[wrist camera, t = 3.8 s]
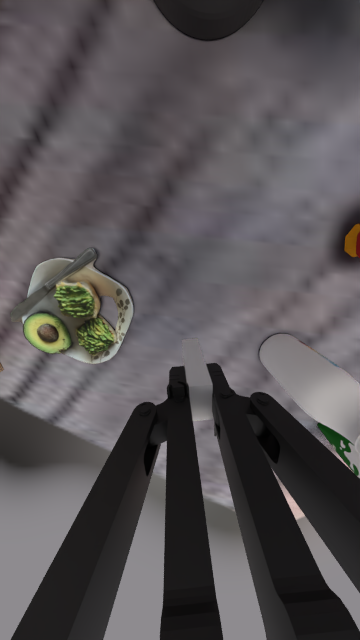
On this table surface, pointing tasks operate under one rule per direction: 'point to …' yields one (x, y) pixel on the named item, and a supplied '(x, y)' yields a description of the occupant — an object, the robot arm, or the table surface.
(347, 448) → the milk carton
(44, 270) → the salad plate
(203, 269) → the table surface
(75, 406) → the table surface
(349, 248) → the potion bottle
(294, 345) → the milk bottle
